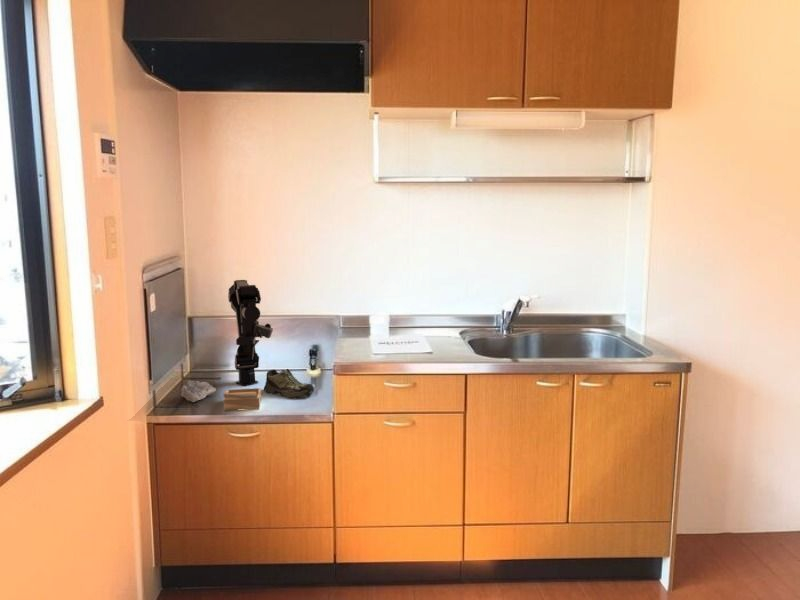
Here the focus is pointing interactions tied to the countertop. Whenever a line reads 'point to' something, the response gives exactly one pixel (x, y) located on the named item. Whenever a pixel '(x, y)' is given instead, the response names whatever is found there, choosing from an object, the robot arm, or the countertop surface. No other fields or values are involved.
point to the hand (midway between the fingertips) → (251, 360)
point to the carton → (243, 400)
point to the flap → (240, 395)
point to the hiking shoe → (286, 385)
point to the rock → (196, 390)
